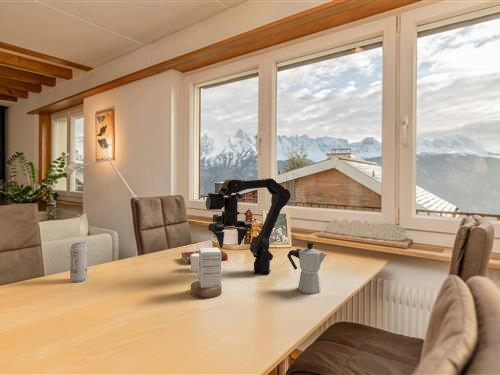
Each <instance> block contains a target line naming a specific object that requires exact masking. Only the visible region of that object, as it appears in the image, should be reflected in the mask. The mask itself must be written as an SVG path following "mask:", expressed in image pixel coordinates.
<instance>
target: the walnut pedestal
mask: <svg viewBox="0 0 500 375" xmlns="http://www.w3.org/2000/svg"><path fill="white" fill-rule="evenodd" d="M222 284H223V283H221V287H210V288H201V286H200V283H199V280H197V281H194V282H191V283H190V296H192V297H194V298H196V299H202V300H203V299H205V300H208V299H214V298H218V297H219V296H220V295H222V292H223V291H222V288H223V285H222Z"/></svg>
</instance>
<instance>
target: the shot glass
mask: <svg viewBox="0 0 500 375" xmlns="http://www.w3.org/2000/svg"><path fill="white" fill-rule="evenodd" d="M190 259H191V265H190V268H191V269H190V270H191V272H193V273H199V253H196V254H191V255H190Z"/></svg>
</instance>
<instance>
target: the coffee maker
mask: <svg viewBox="0 0 500 375" xmlns="http://www.w3.org/2000/svg"><path fill="white" fill-rule="evenodd" d="M306 245H307V248H304V249H301V248H296V249H295V250H294V249H291V250H289V251H288V254H287V255H286V256H287V258H288V260H289V262H290V264H291V265H292V267H293V269H294V270H295V271H296V270H298V266H297V265H296V263H295V261H294V259H293V257H295V258H297V259H299V260H298V262H299V268H300V269H301V272H300V274H299V275H300V276H299V281H298V286H297V291H299V292H300V293H303V294H307V295H308V294H309V295H316V294H320V293H321V282H320V275H319V270H320V268H321V264H322V263H323V261H324V259H325V258H326V256H328V254H326V253H324V252H321V250H318V249H314V248H313V246H314V241H313V242H311V241H307V242H306ZM292 256H293V257H292Z"/></svg>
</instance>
